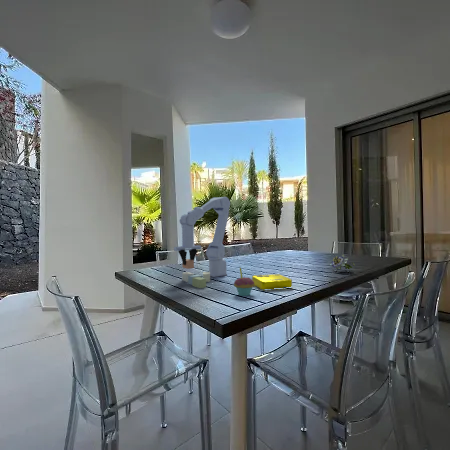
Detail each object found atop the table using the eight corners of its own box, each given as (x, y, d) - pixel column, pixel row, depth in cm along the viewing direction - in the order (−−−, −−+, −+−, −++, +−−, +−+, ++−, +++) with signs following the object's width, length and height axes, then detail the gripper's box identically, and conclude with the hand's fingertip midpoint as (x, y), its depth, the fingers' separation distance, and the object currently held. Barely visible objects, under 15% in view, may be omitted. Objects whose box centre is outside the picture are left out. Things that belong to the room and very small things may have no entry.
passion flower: (336, 280, 174) (324, 263, 179) (347, 275, 179) (336, 258, 184) (348, 272, 165) (335, 254, 170) (360, 267, 170) (348, 250, 175)
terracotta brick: (193, 268, 149) (193, 260, 149) (187, 268, 147) (187, 260, 147) (188, 266, 154) (188, 259, 154) (182, 267, 152) (182, 259, 152)
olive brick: (192, 286, 139) (192, 277, 139) (198, 285, 141) (198, 276, 141) (199, 288, 134) (199, 279, 134) (206, 287, 136) (206, 278, 136)
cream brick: (203, 279, 154) (203, 272, 154) (209, 279, 154) (209, 271, 154) (203, 282, 148) (203, 274, 148) (210, 282, 148) (210, 274, 148)
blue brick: (198, 282, 147) (197, 274, 147) (202, 283, 145) (202, 275, 145) (188, 284, 143) (188, 276, 143) (192, 285, 141) (192, 277, 140)
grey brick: (182, 280, 152) (182, 272, 152) (188, 279, 154) (188, 272, 154) (187, 282, 147) (187, 274, 147) (193, 281, 149) (193, 273, 149)
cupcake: (240, 298, 117) (240, 268, 117) (230, 293, 125) (230, 265, 124) (258, 295, 121) (258, 266, 121) (247, 291, 129) (247, 263, 128)
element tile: (262, 291, 129) (262, 280, 129) (250, 284, 143) (250, 274, 143) (293, 289, 133) (293, 278, 133) (279, 282, 147) (278, 272, 147)
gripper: (196, 236, 157) (196, 262, 158) (171, 237, 149) (171, 264, 150) (203, 237, 152) (203, 263, 152) (177, 238, 143) (177, 266, 144)
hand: (188, 264), depth 150 cm, fingers closed on terracotta brick, 3 cm apart
